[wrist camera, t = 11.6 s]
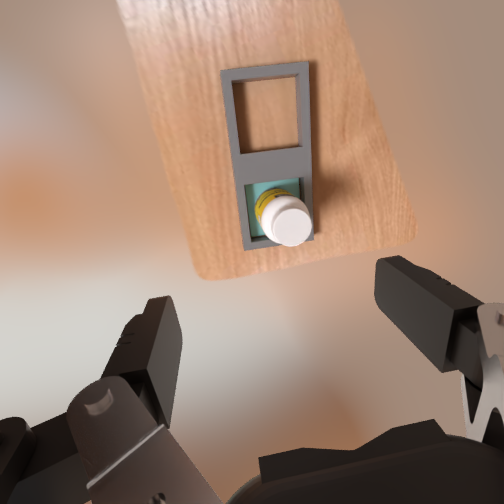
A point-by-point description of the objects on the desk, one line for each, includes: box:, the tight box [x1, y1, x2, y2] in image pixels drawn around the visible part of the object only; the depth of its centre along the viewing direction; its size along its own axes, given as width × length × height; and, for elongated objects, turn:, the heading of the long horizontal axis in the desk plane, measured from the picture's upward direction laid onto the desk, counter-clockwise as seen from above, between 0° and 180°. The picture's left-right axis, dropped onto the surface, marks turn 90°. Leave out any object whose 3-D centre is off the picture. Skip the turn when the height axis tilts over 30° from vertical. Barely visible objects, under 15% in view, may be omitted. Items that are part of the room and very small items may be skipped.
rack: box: [220, 61, 314, 251], centre depth 34 cm, size 20×10×2 cm, turn 6°
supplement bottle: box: [254, 188, 312, 247], centre depth 32 cm, size 5×5×10 cm
